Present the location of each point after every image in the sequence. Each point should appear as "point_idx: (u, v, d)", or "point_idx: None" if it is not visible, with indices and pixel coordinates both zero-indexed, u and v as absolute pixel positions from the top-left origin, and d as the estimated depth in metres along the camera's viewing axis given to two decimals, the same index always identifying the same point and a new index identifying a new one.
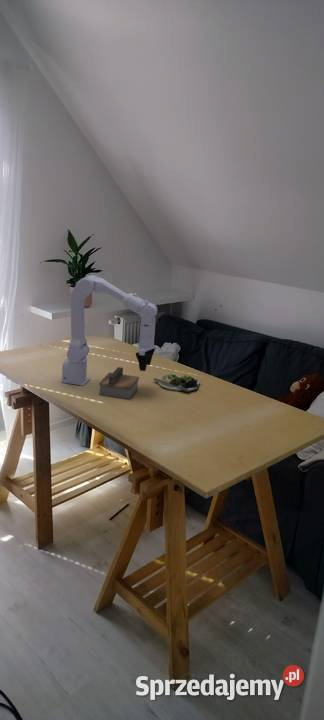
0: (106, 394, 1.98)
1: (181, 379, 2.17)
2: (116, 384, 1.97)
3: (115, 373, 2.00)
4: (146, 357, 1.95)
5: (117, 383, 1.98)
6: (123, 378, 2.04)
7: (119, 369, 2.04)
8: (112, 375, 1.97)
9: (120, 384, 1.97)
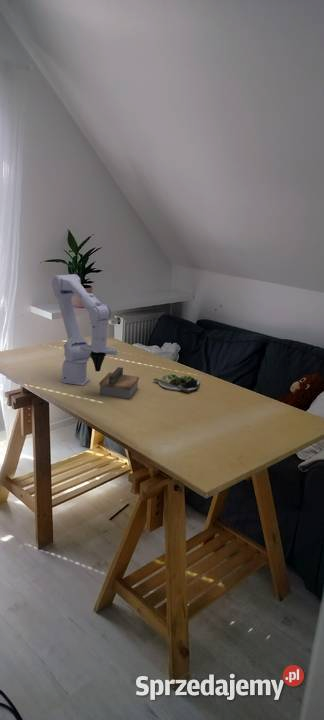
0: (106, 394, 1.98)
1: (181, 379, 2.17)
2: (116, 384, 1.97)
3: (115, 373, 2.00)
4: None
5: (117, 383, 1.98)
6: (123, 378, 2.04)
7: (119, 369, 2.04)
8: (112, 375, 1.97)
9: (120, 384, 1.97)
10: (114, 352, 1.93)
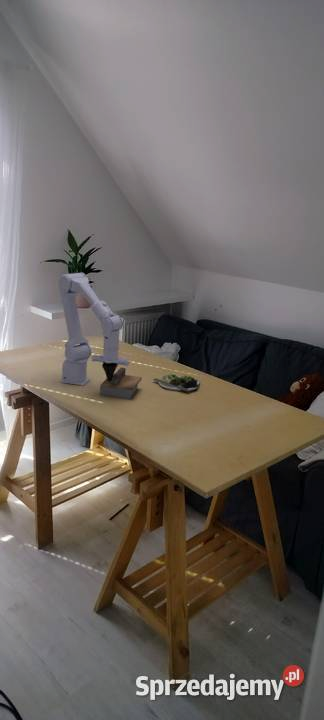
0: (106, 394, 1.98)
1: (181, 379, 2.17)
2: (119, 384, 1.97)
3: (118, 373, 1.99)
4: None
5: (120, 383, 1.98)
6: (125, 378, 2.04)
7: (122, 369, 2.04)
8: (115, 375, 1.97)
9: (123, 384, 1.97)
10: (126, 363, 1.93)
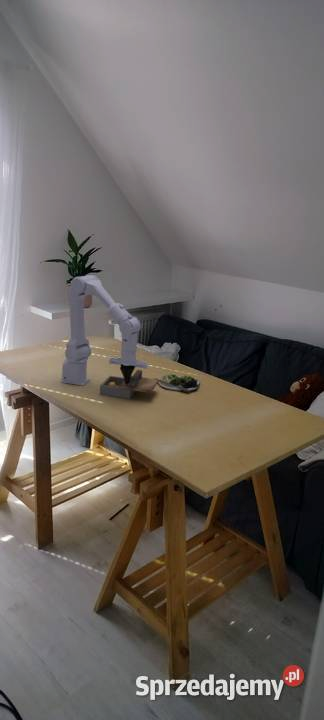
0: (106, 394, 1.98)
1: (181, 379, 2.17)
2: (136, 387, 1.95)
3: (135, 376, 1.98)
4: None
5: (137, 386, 1.96)
6: (142, 380, 2.03)
7: (138, 372, 2.03)
8: (132, 378, 1.96)
9: (140, 387, 1.96)
10: (144, 365, 1.92)
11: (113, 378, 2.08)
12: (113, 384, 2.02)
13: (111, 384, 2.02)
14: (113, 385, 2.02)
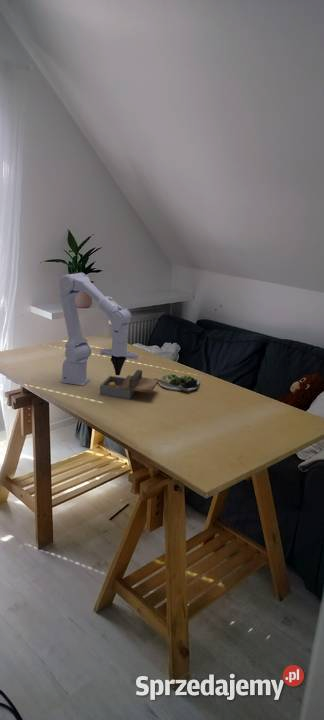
0: (106, 394, 1.98)
1: (181, 379, 2.17)
2: (136, 387, 1.95)
3: (135, 376, 1.98)
4: None
5: (137, 386, 1.96)
6: (142, 380, 2.03)
7: (138, 372, 2.03)
8: (132, 378, 1.96)
9: (140, 387, 1.96)
10: (134, 356, 1.93)
11: (113, 378, 2.08)
12: (113, 384, 2.02)
13: (111, 384, 2.02)
14: (113, 385, 2.02)
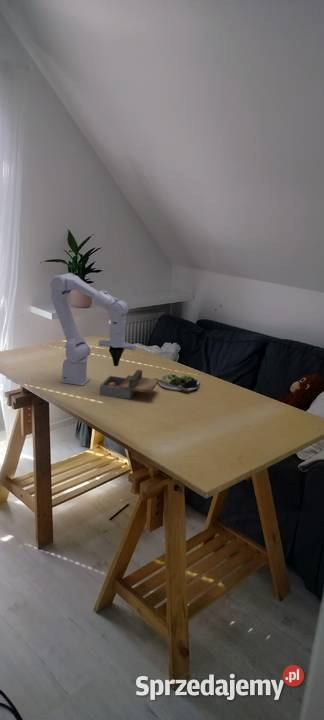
0: (106, 394, 1.98)
1: (181, 379, 2.17)
2: (136, 387, 1.95)
3: (135, 376, 1.98)
4: None
5: (137, 386, 1.96)
6: (142, 380, 2.03)
7: (138, 372, 2.03)
8: (132, 378, 1.96)
9: (140, 387, 1.96)
10: (132, 347, 1.97)
11: (113, 378, 2.08)
12: (113, 384, 2.02)
13: (111, 384, 2.02)
14: (113, 385, 2.02)
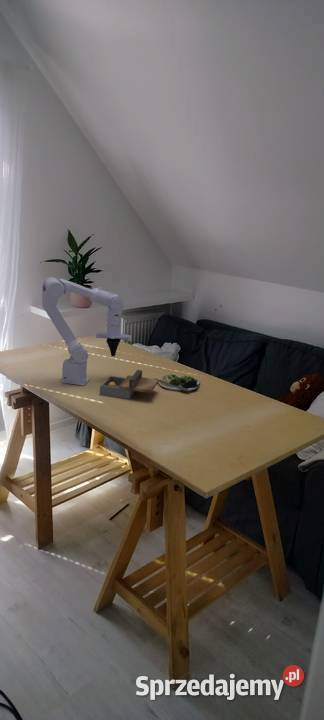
0: (106, 394, 1.98)
1: (181, 379, 2.17)
2: (136, 387, 1.95)
3: (135, 376, 1.98)
4: None
5: (137, 386, 1.96)
6: (142, 380, 2.03)
7: (138, 372, 2.03)
8: (132, 378, 1.96)
9: (140, 387, 1.96)
10: (129, 338, 2.08)
11: (113, 378, 2.08)
12: (113, 384, 2.02)
13: (111, 384, 2.02)
14: (113, 385, 2.02)
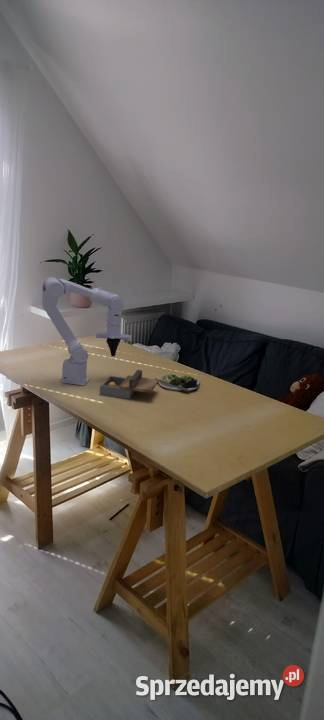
0: (106, 394, 1.98)
1: (181, 379, 2.17)
2: (136, 387, 1.95)
3: (135, 376, 1.98)
4: None
5: (137, 386, 1.96)
6: (142, 380, 2.03)
7: (138, 372, 2.03)
8: (132, 378, 1.96)
9: (140, 387, 1.96)
10: (129, 338, 2.08)
11: (113, 378, 2.08)
12: (113, 384, 2.02)
13: (111, 384, 2.02)
14: (113, 385, 2.02)
